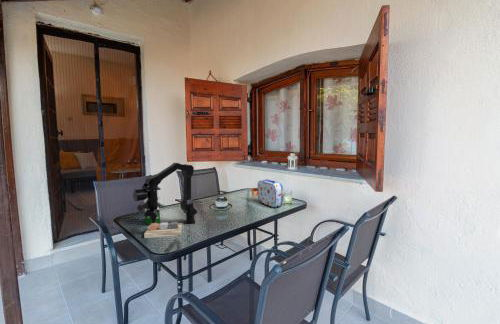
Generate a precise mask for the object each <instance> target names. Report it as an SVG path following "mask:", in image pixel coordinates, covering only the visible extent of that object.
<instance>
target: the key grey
mask: <svg viewBox="0 0 500 324" xmlns="http://www.w3.org/2000/svg"><path fill="white" fill-rule="evenodd" d="M168 224H169V222H167V221H166V222H160V223H159V225H160V230H167V229H168Z"/></svg>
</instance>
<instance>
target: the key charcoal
mask: <svg viewBox="0 0 500 324" xmlns="http://www.w3.org/2000/svg"><path fill="white" fill-rule="evenodd" d="M169 224H170V227H171V229H178V224H179V221H171V222H170V223H169Z"/></svg>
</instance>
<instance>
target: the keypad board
mask: <svg viewBox="0 0 500 324" xmlns="http://www.w3.org/2000/svg"><path fill="white" fill-rule="evenodd" d="M170 224H171V223H168V229H167V230H160V224H158V229H157V230H154V231H150V225H148V227H147V229H146V230H145V231H144V234H143V235H144V239H149V238H150V239H151V238H164V237H176V236H181V233H182V229H183V223H182V222H181V223H179V222H178V229H171V227H170Z"/></svg>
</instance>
